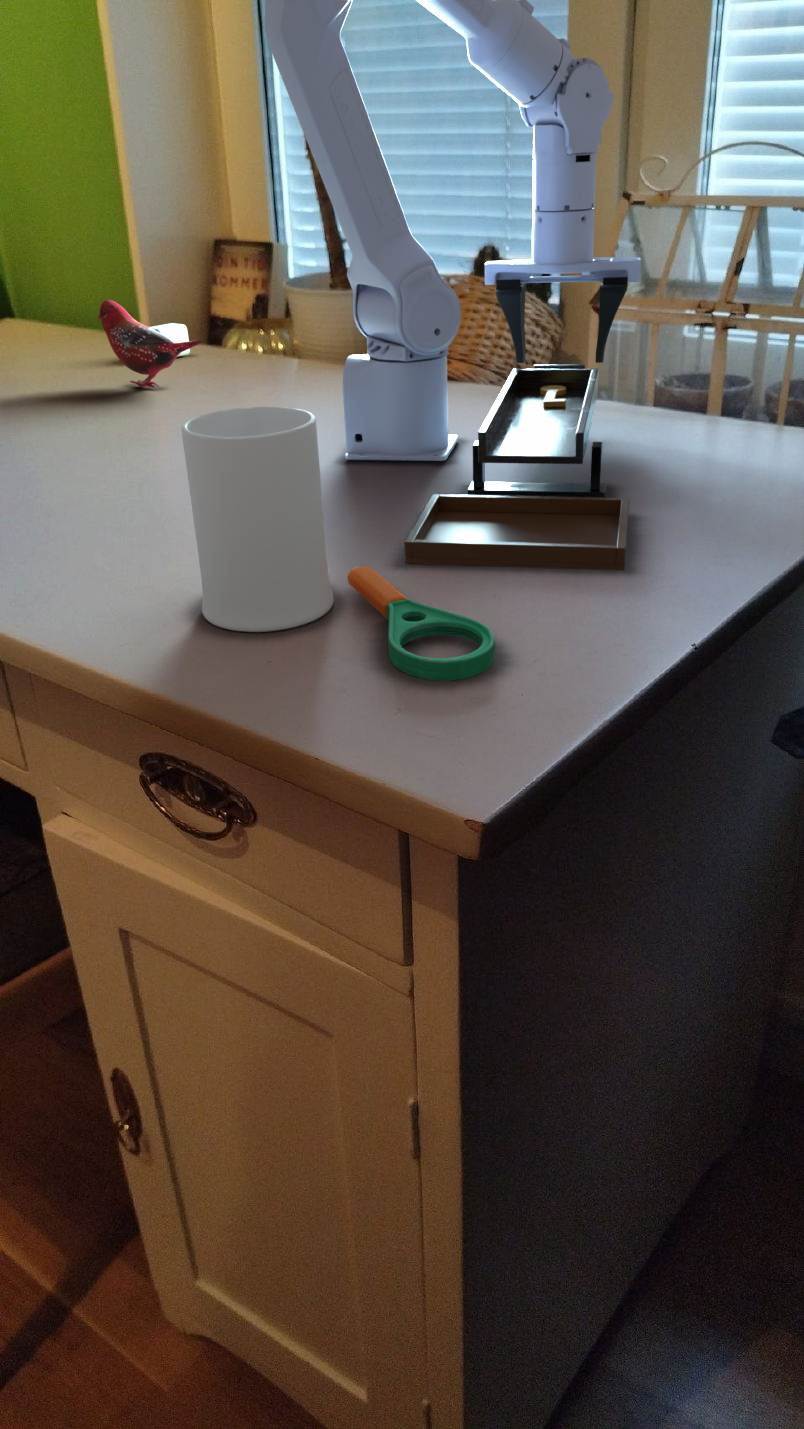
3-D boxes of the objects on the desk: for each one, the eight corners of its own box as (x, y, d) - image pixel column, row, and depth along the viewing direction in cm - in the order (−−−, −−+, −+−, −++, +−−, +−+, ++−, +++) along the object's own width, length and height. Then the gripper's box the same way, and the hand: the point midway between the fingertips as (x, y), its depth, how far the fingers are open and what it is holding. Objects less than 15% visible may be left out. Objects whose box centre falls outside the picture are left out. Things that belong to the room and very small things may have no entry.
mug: (169, 585, 76) (142, 409, 70) (283, 560, 79) (266, 390, 74) (230, 644, 67) (205, 447, 61) (356, 613, 70) (343, 424, 64)
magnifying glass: (515, 666, 62) (516, 639, 62) (419, 690, 60) (419, 662, 59) (402, 581, 75) (401, 558, 74) (319, 599, 72) (317, 575, 72)
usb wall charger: (190, 355, 153) (186, 325, 151) (149, 363, 149) (144, 332, 147) (173, 352, 155) (169, 322, 153) (132, 360, 151) (127, 330, 149)
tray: (405, 563, 78) (404, 541, 77) (432, 513, 87) (432, 493, 87) (624, 570, 75) (625, 548, 74) (628, 518, 84) (629, 497, 84)
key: (534, 407, 98) (534, 401, 98) (541, 390, 104) (541, 385, 104) (565, 407, 98) (565, 401, 97) (570, 390, 103) (570, 385, 103)
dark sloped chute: (478, 463, 85) (477, 432, 84) (519, 381, 111) (519, 357, 110) (582, 464, 83) (584, 433, 82) (600, 381, 109) (601, 356, 108)
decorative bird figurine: (117, 380, 140) (103, 297, 136) (217, 393, 131) (206, 304, 126) (99, 384, 138) (85, 300, 134) (199, 398, 129) (188, 307, 124)
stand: (467, 494, 91) (466, 446, 89) (471, 486, 93) (471, 439, 92) (604, 497, 89) (606, 448, 87) (605, 488, 91) (607, 440, 89)
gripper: (644, 203, 104) (635, 352, 110) (491, 208, 107) (491, 353, 113) (643, 209, 98) (634, 367, 104) (481, 214, 101) (482, 367, 107)
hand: (559, 361), depth 108 cm, fingers open, 7 cm apart
